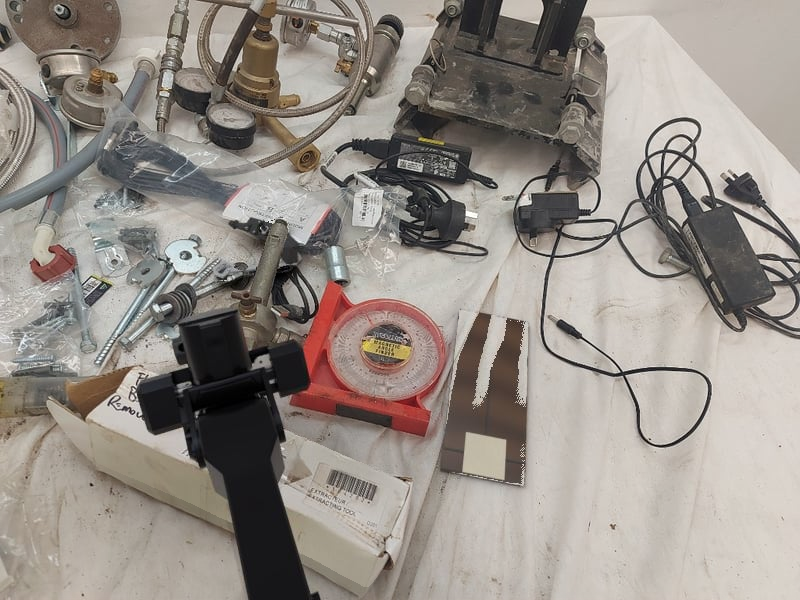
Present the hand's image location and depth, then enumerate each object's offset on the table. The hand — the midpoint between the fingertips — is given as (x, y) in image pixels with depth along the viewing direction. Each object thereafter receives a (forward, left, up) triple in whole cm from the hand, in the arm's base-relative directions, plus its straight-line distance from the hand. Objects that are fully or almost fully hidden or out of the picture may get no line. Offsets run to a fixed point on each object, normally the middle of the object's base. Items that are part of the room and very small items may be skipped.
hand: (223, 368), depth 75 cm
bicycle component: (+28, -3, -11) cm, 30 cm away
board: (-1, -38, -11) cm, 40 cm away
